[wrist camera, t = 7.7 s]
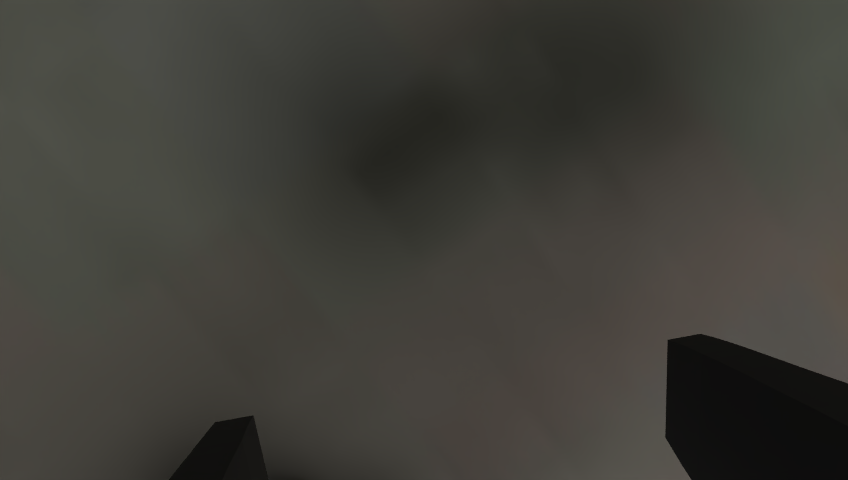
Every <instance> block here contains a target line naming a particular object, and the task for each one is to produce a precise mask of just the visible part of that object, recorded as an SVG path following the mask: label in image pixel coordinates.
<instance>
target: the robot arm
mask: <svg viewBox="0 0 848 480" xmlns="http://www.w3.org/2000/svg"><path fill="white" fill-rule="evenodd" d="M665 438H666V439H667V441H668V443H669V444H670V446H671V447H672V449H673V451H674V452H675V454H676V456H677V457H678V459H679V461H680V462H681V464H682V466H683V467H684V469H685V470H686V472H687V473H688V475H689V476H690V478H691V479H692V480H848V383H845V382H842V381H839V380H836V379H833V378H830V377H827V376H824V375H821V374H819V373H816V372H813V371H810V370H807V369H804V368H801V367H799V366H796V365H793V364H790V363H787V362H785V361H782V360H779V359H776V358H773V357H771V356H768V355H765V354H762V353H759V352H757V351H754V350H751V349H748V348H745V347H742V346H739V345H736V344H733V343H730V342H727V341H724V340H721V339H717V338H714V337H710V336H706V335H702V334H697V335H692V336H686V337H681V338H675V339H670V340H668V352H667V394H666V436H665ZM169 480H268V476H267V472H266V468H265V464H264V459H263V455H262V451H261V447H260V442H259V438H258V434H257V429H256V425H255V421H254V417H253V416H248V417H242V418H237V419H231V420H226V421H220V422H215V423H214V424H213V426H212V427H211V428H210V429H209V430H208V432H207V433H206V434H205V435H204V437H203V438H202V439H201V440H200V442H199V443H198V444H197V445H196V447H195V448H194V449H193V450H192V452H191V453H190V454H189V455H188V457H187V458H186V459H185V460H184V462H183V463H182V464H181V465H180V467H179V468H178V469H177V470H176V472H175V473H174V474H173V475H172V477H171V478H170V479H169Z"/></svg>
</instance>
